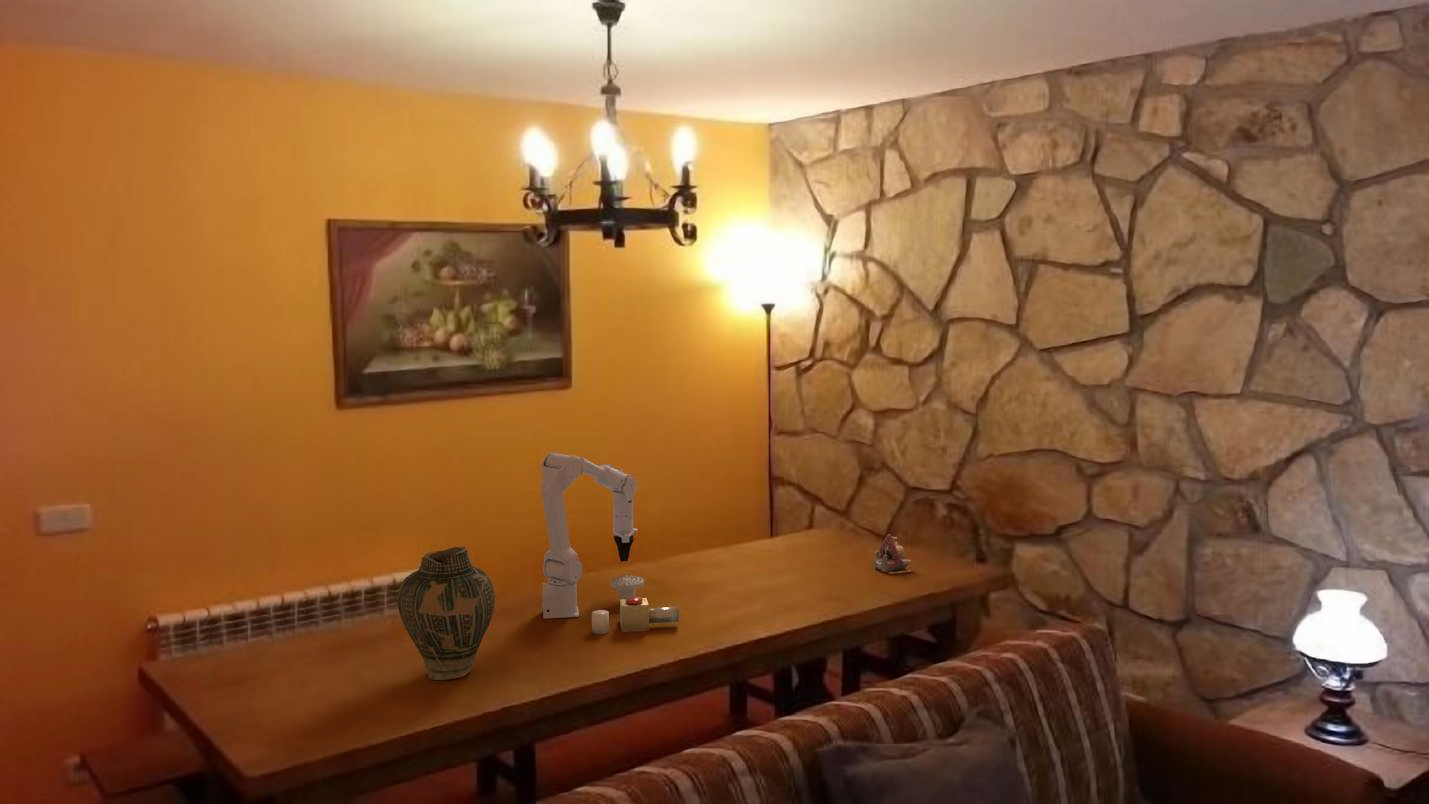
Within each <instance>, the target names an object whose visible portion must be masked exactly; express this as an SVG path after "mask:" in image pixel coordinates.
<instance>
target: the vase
mask: <svg viewBox="0 0 1429 804" xmlns="http://www.w3.org/2000/svg"><path fill="white" fill-rule="evenodd" d="M494 589H495V588H494V585H493V582H492V579H491V577H490V576H489V574H488V573H486V572H485V571H484V570H483V569H481V568H478V567H476V566H474V565H473V564H472V561H471V558H470V555H469V552H468V549H467V548H466V547H465V546H454V547H449V548H447V549H444V550H435V551H431V552H427V553H426V554H424V555H423V556H422V557H421V562H420V567H419V568H418V570H415V571H413V572H411V573H410V574H408V576H406V577H405V578H404V579H403V581H402V582H401V584H400V587H399V590H398V593H397V594H398V595H397V609H398V612H399V615H400V618H401V621H402V624H403V626H404V627H405V630H406V632H407V634H408V636H409V637H410V640H412V642H413V644H414V645H415V647H416V648H417V650H418V652H419V654H420V655H421V658H422V660H423V663H424V667H425V668H426V670H427V674H428V678H429V680H433V681H446V680H453V679H458V678H463V677H465V676H466V675H467V674H468V673H470V672H471V671H473V670H474V669H473V668H474V664H475V663H476V656H477V653H478V651H479V648H480V645H481V644H482V642H483V638H484V636H485V634H486V632H487V630H488V628H489V626H490V623H491V621H492V619H493V615H494V612H495V604H496V594H495V590H494Z"/></svg>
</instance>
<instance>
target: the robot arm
mask: <svg viewBox="0 0 1429 804" xmlns="http://www.w3.org/2000/svg"><path fill="white" fill-rule="evenodd" d="M613 467H614V466H613V464H609V463H606V464H602V465H597V464H595V463H593V462H592V461H590V460H588V459H586V458H584V457H580V456H578V455H570V454H562V453H557V452H555V451H554V452H549V453H548V454H546V455H545V457H544V459H543V460H542V462H541V464H540V469H541V476H542V479H541V489H540V490H541V496H542V504H543V510H544V517H545V522H546V530H547V536H548V537H547V538H548V544H549V549H548V550H547V551H546V552H545V553H544V554H543V558H544V560H543V561H544V562H543V567H542V571H543V574H544V576H545V577H546V578H547V582H543V583H542V603H541V610H542V614H543V619H560V618H561V619H564V618H578V617H580V613H579V612H580V611H579V607H578V602H577V601H578V599H577V598H578V596H577V595H578V594H577V592H578V591H577V584H578V583H579V581H580V579H581V578H582V574H583V564H582V563H581V562H580V559H579V555H578V553H577V552H576V551H575V550H574V549H573V547H572V546H571V541H570V534H569V527H568V521H567V513H566V505H565V499H564V492H565V490H566V489H568V488H569V487H571V485H573V483H574V482H575V481H576V480H577V479H579V477H580V475H583V474H585V475H588V476H590V477H593V478H594V481H595V483H596V484H598V485H600V486H603V487H604V488H607V489H608V490H609V492H611V493H612V505H613V507H612V508H613V509H612V512H613V514H612V515H613V517H612V518H613V524H612V525H613V529H612V533H613V535H614V536H613V541H614V542H615V544H616V546H617V551H618V558H619V561H620V562H628V561H629V557H630V553H631V551H630V550H631V548H632V544H633V543H634V540H635V539H634V535H633V534H634V533H638V530H639V529H638V528H634V500H635V498H636V497H635V495H636V494H635V493H636V491H637V490H638V489H637V488H638V482H637V479H636V478H635V477H634V475H633V474H628V473H624V471H623V470H622V469H615V468H613Z"/></svg>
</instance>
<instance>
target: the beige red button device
mask: <svg viewBox="0 0 1429 804" xmlns="http://www.w3.org/2000/svg"><path fill="white" fill-rule="evenodd" d="M679 610H680V609H679V607H678V606H669V607H668V606H667V607H665V606H664V607H650V606H649V601H648V598H647V597H641V596H634V597H628V598H626V599H624V598H621V599H619V616H620V617H619V619H620V620H619V621H620V624H619V625H620V629H621V632H622V633H632V632H633V633H635V632H649V631H650V624H651V625H652V624H653V625H654V624H665V623H666V624H667V623H668V624H669V623H679V622H680V613H679V612H680V611H679Z"/></svg>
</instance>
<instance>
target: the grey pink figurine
mask: <svg viewBox="0 0 1429 804" xmlns="http://www.w3.org/2000/svg"><path fill="white" fill-rule="evenodd" d="M885 548H886V549H885ZM905 557H906V551H905V549H904V547H903V546H902V545H899V543H898V536H892V535H891V534H890V533H888V534H887V535H886V537H885V538H884V540H883V541H882V543H881V544H880V545H879V549H878V550H876V551H875V555H874V556H873V564H872V565H873V566H874V568H875V569H876V570H878V571H881V572H883V573H888V574H892V575H893V574H901V573H902V574H903V573H909V572H912V570H911V569H906V568H907V567H908V566H910V565H911V564H912V563H913V562H912V559H906V558H905ZM905 569H906V570H905Z"/></svg>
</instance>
